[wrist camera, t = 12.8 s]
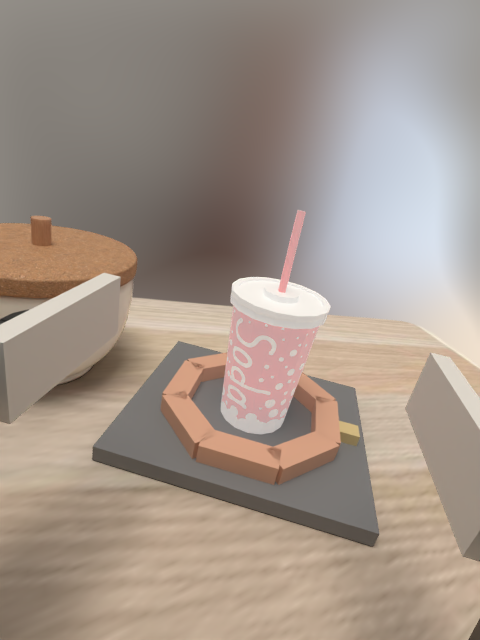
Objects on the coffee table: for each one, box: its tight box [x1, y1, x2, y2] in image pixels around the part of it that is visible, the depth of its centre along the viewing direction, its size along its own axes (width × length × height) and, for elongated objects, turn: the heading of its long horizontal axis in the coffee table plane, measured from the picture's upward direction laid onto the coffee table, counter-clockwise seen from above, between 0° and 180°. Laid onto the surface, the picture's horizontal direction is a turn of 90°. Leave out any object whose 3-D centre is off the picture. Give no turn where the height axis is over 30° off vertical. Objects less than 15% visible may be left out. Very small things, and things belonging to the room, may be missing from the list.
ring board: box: [92, 341, 379, 546], centre depth 26 cm, size 16×14×2 cm
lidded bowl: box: [0, 216, 137, 385], centre depth 27 cm, size 13×13×11 cm
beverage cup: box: [221, 210, 331, 434], centre depth 23 cm, size 6×6×14 cm
